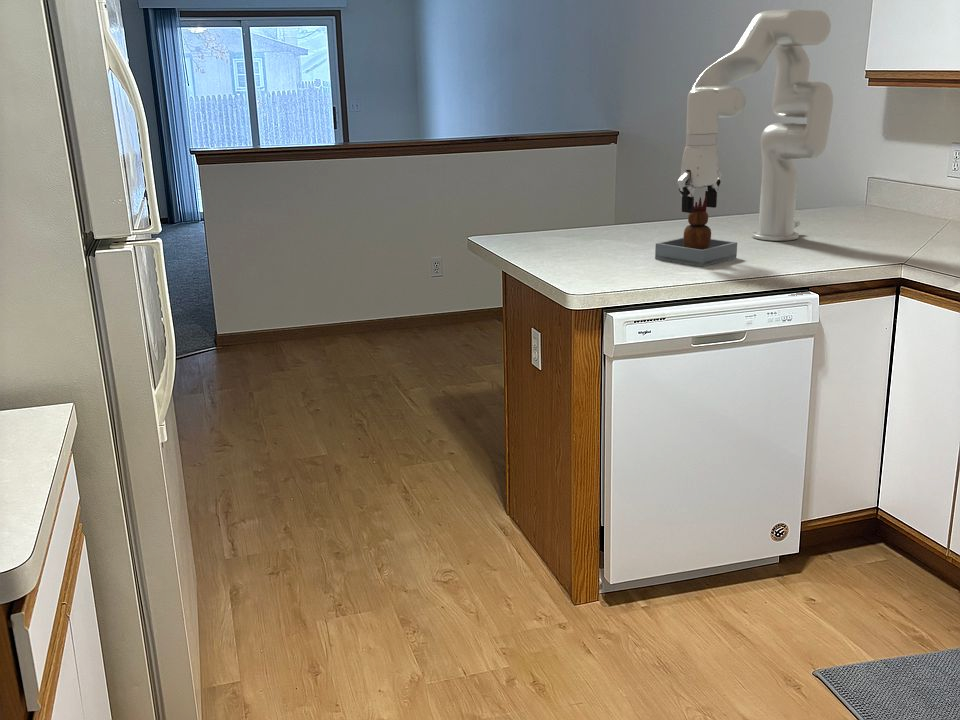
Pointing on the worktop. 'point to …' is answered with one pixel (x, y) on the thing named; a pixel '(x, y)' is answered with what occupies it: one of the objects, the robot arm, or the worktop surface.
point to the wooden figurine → (698, 228)
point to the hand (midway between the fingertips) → (699, 209)
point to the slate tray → (696, 252)
